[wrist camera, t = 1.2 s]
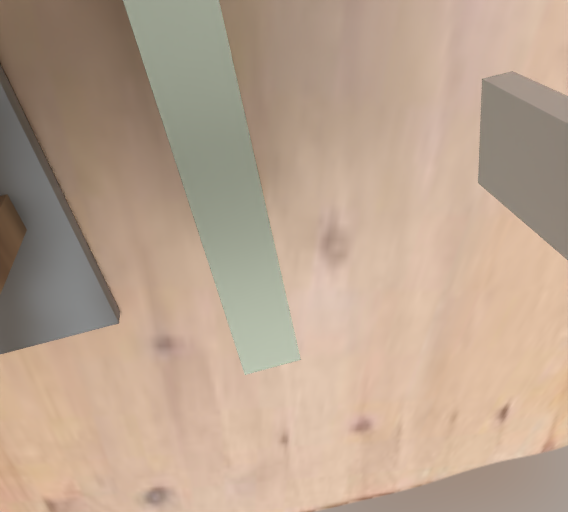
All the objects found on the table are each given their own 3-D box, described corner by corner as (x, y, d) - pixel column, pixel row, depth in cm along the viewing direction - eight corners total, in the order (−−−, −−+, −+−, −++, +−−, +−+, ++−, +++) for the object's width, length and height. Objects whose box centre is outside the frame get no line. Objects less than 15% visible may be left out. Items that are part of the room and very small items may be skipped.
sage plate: (114, -138, 19) (63, -180, 9) (167, -150, 19) (173, -202, 10) (216, 209, 28) (244, 375, 18) (252, 200, 28) (300, 359, 18)
